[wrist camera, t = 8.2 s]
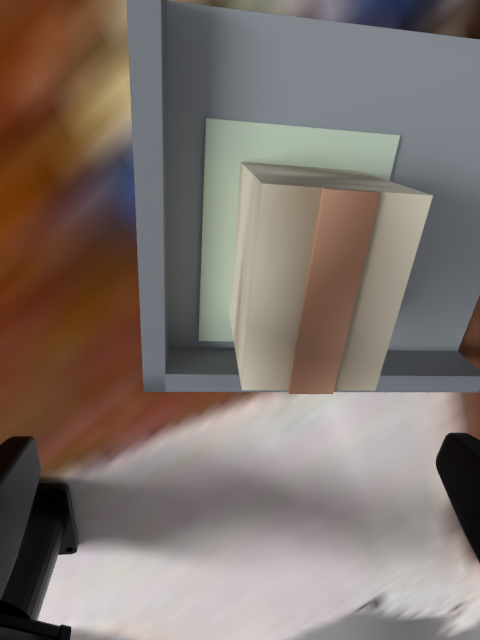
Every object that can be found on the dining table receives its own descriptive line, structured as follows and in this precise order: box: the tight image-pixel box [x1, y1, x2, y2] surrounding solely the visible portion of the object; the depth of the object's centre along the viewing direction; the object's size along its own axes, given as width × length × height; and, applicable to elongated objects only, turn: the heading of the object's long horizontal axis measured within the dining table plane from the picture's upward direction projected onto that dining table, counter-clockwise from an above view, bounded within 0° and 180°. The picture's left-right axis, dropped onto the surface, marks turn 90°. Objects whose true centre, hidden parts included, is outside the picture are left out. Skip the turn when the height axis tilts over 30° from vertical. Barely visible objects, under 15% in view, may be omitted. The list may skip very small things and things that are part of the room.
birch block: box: [229, 162, 433, 394], centre depth 15 cm, size 5×7×6 cm
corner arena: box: [127, 0, 480, 392], centre depth 17 cm, size 15×17×3 cm
